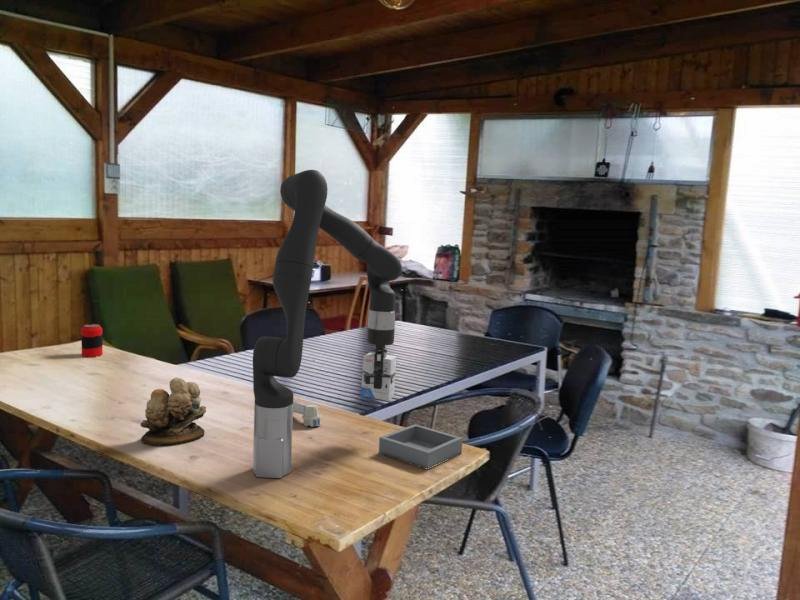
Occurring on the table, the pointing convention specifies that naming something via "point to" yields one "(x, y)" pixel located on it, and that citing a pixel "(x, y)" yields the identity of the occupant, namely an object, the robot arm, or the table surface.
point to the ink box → (387, 378)
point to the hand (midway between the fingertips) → (377, 385)
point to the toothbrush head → (307, 413)
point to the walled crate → (420, 446)
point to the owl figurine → (173, 415)
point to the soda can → (91, 340)
